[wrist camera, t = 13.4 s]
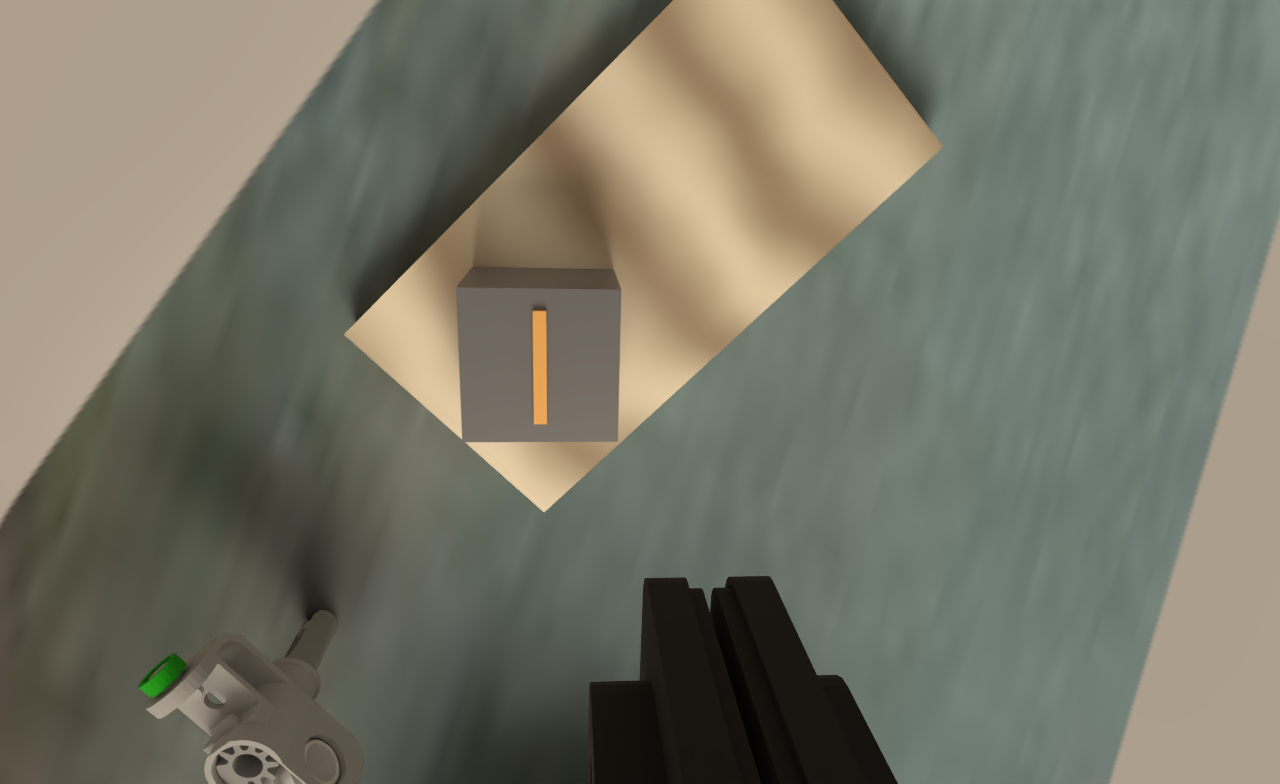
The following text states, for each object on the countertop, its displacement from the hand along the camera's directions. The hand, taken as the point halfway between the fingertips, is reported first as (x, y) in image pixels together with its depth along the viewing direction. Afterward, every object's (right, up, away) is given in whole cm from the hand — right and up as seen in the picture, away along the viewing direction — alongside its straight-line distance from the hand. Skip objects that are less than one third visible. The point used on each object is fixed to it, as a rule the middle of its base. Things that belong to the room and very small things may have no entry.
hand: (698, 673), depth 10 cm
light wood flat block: (-1, +11, +25) cm, 27 cm away
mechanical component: (-17, -8, +30) cm, 35 cm away
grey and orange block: (-5, +6, +24) cm, 25 cm away
